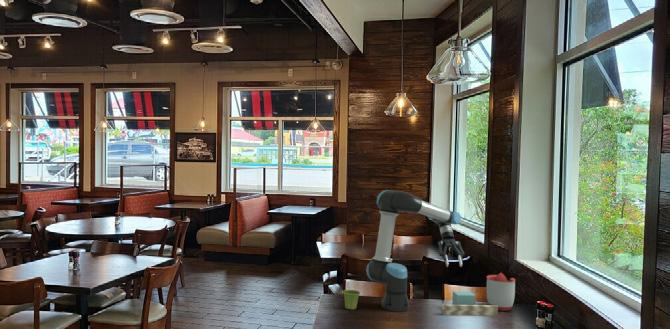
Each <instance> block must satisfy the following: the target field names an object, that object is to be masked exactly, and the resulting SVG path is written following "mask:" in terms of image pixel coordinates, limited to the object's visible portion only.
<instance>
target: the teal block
mask: <svg viewBox="0 0 670 329" xmlns="http://www.w3.org/2000/svg"><path fill="white" fill-rule="evenodd" d="M451 305H476V294H474V293H473V292H472V291H467V290H465V291H464V290H463V291H461V290H460V291H457V290H456V291H455V290H453V291H452V303H451Z"/></svg>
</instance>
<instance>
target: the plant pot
mask: <svg viewBox="0 0 670 329" xmlns="http://www.w3.org/2000/svg"><path fill="white" fill-rule="evenodd" d="M342 294H343V299H344V308H345V309H347V310H356V309H357V308H358V306H357V305H358V302H359V296H360V294H361V292H360V290H359V291H358V290H354V289H345V290H343V291H342Z"/></svg>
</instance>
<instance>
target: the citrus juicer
mask: <svg viewBox="0 0 670 329" xmlns="http://www.w3.org/2000/svg"><path fill="white" fill-rule="evenodd" d="M515 294H516V278H514V277H511V278H509V280H508V279H507V277H506V276H505V274H503V273H502V272H500V273H498V274H488V275H487V276H486V300H487V304H488V305H497V306H498V311H500V310H501V311H500V312H504V311H505V312H506V311H507V312H508V311H510V310H512V308H513V304H514V302H515V296H516V295H515Z"/></svg>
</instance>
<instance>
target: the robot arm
mask: <svg viewBox="0 0 670 329" xmlns="http://www.w3.org/2000/svg"><path fill="white" fill-rule="evenodd" d="M376 205H377V208H379V213H380V219H379V220H380V221H379V228H378V235H377V241H376V248H375V254H374V256H373V257H372V258H371V260H370V261H369V262H368V264H367V265H366V269H365V270H366V276H367V277H368V279H369V280H371V282H374V283H376V284H380V285H383V286H385V292H384V296H383V299H382V301H381V308H383V310H386V311H390V312H400V313H401V312H406V311H409V310H410V302H409V299H408V295H407V290H408V289H407V288H408V269H407V267H406V266H405V265H403V264H400V263H397V262H392V259H391V252H392V247H393V246H392V245H393V238H394V231H395V226H396V218H397V216H399V215H400V212H403V213H404V212H406V213H412V214H421V215H423V216H426V217H427V218H428V219H429V220H431V221H432V222H433V223H434V224H436V225H438V226H439V227H438V228H439V231H440V236H441V240H438V242H437V244H438V252H439V257H442V258H443V261H444V263H445V265H446V267H447V268H448V267H449V264H450V263H449V259H448V255H447V249H448V248H451V250H452V249H453V251H454V252H455V253H456V255H457V259H458V264H459V267H461V268H462V267H463V260H464V259H463V258H464V256H465V251H464V250H463V248H462V245H461V241H460V240H457V241H456V239H455V236H454V231H453V228H452V225H459V224H460V223H461V222H462V216H461V215H462V214H461V213H460V212H457V211H451V210H449V209H446V208H443V207H441V206H438V205H435V204H433V203H430V202H427V201H424V200H422V198H421V197H419V196H416V195H414V194H411V193H409V192H407V191H402V190H393V189H385V190H382V191H381V192H380V193H378V195H377V198H376ZM443 245H444V249H443Z"/></svg>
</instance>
